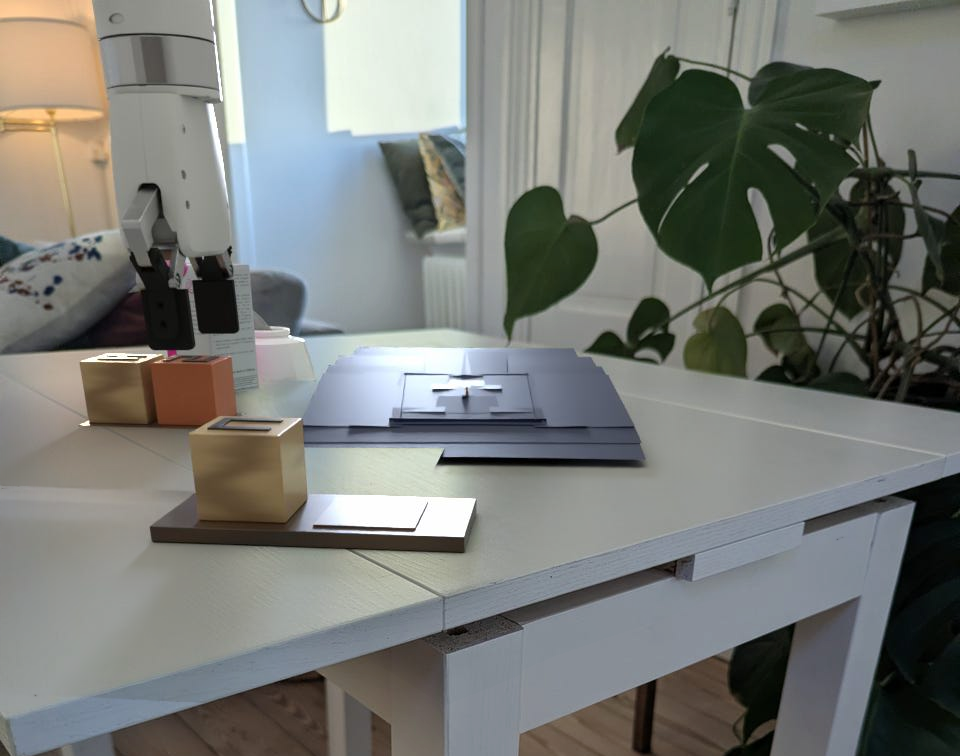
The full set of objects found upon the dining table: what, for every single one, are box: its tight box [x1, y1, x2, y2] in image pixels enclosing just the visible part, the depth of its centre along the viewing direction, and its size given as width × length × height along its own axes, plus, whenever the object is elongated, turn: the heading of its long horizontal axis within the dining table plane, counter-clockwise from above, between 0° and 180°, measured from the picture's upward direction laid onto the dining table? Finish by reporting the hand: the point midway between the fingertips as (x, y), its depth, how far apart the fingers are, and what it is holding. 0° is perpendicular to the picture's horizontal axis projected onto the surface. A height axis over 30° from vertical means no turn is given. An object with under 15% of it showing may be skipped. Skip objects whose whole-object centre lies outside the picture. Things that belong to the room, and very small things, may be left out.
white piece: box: [128, 284, 317, 382], centre depth 92 cm, size 9×18×10 cm, turn 90°
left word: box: [78, 353, 246, 430], centre depth 72 cm, size 11×6×5 cm, turn 85°
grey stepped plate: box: [302, 346, 647, 461], centre depth 76 cm, size 24×30×4 cm
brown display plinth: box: [149, 416, 478, 553], centre depth 49 cm, size 16×7×5 cm, turn 85°
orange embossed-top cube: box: [150, 355, 238, 426], centre depth 71 cm, size 5×5×5 cm
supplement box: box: [166, 263, 260, 393], centre depth 84 cm, size 6×6×12 cm
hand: (197, 340), depth 70 cm, fingers open, 9 cm apart
